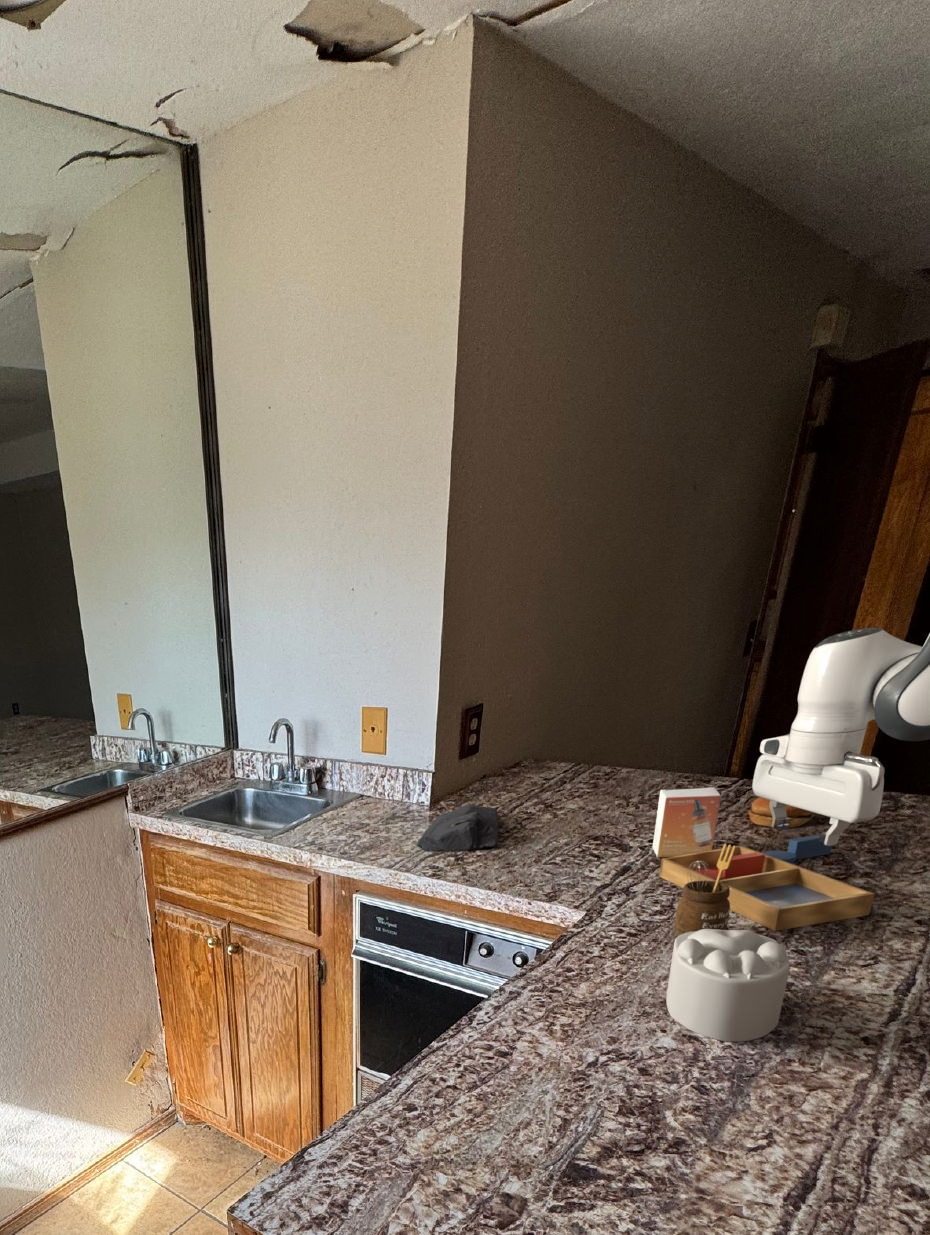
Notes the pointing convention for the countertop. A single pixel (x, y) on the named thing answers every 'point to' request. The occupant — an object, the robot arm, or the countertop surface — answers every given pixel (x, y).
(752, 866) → the red angular block
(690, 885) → the utensil holder
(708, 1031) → the lumpy-topped squat cylinder
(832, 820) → the robot arm
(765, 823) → the burger
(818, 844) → the blue l-shaped block
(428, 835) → the dark slate chunk
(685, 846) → the small box
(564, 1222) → the countertop surface
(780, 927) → the cutlery tray
